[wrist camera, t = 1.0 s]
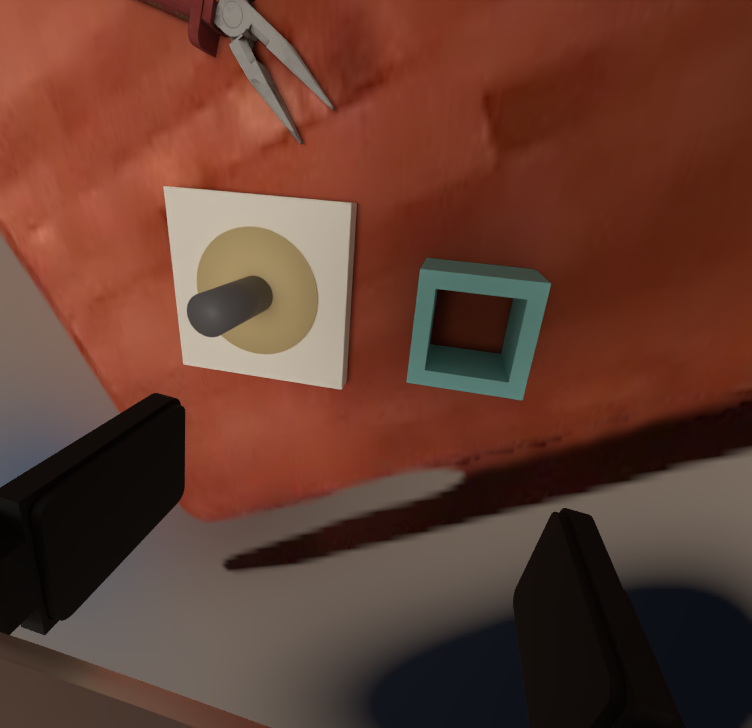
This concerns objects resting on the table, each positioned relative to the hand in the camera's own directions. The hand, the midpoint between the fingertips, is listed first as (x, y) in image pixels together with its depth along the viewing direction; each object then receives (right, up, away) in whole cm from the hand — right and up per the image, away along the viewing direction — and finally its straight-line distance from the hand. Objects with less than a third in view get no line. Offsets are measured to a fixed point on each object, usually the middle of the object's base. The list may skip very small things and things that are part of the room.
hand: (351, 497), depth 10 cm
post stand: (-8, +9, +20) cm, 23 cm away
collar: (+7, +7, +18) cm, 20 cm away
